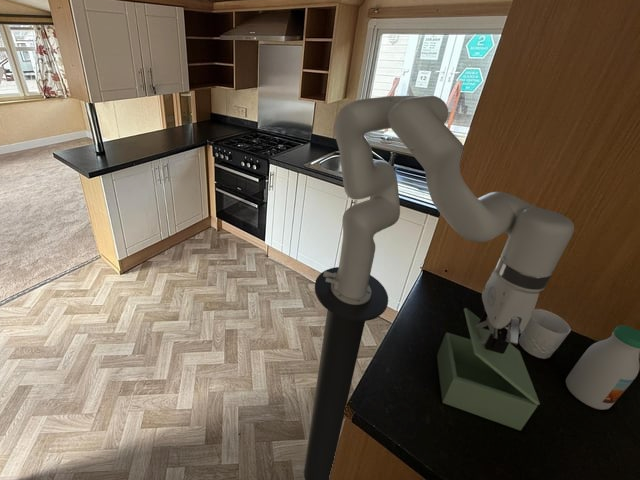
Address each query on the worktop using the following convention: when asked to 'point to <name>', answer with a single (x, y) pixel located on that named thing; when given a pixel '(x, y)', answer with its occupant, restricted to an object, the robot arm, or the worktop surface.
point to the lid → (500, 357)
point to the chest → (479, 385)
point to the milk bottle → (606, 369)
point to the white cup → (544, 333)
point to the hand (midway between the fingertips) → (490, 338)
